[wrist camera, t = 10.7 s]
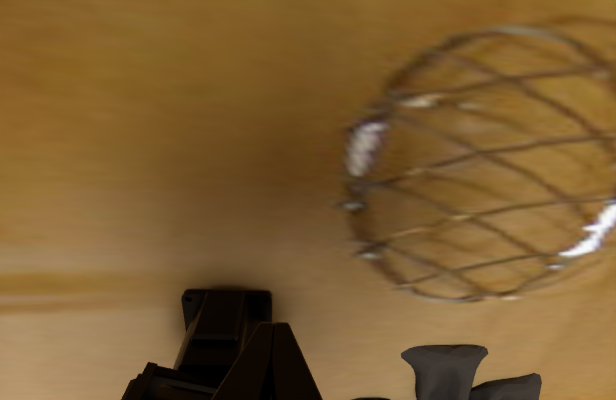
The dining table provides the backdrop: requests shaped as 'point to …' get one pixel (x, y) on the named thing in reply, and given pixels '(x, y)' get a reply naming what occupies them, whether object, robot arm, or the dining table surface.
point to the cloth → (462, 375)
